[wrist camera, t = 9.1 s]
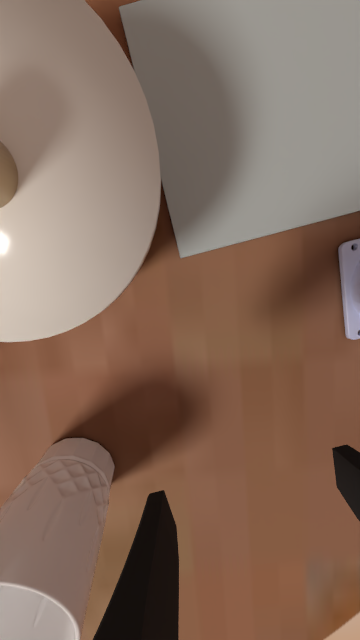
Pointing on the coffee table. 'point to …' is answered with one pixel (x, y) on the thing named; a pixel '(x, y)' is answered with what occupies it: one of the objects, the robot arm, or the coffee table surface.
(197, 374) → the coffee table surface
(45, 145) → the lid
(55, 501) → the white cup
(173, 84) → the mat
